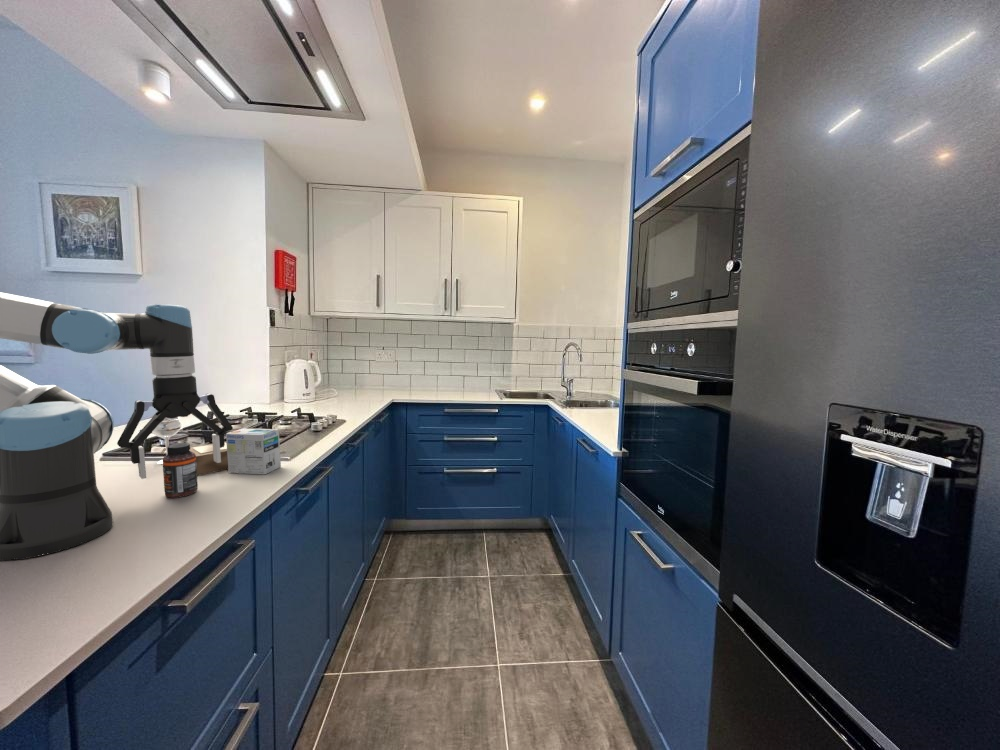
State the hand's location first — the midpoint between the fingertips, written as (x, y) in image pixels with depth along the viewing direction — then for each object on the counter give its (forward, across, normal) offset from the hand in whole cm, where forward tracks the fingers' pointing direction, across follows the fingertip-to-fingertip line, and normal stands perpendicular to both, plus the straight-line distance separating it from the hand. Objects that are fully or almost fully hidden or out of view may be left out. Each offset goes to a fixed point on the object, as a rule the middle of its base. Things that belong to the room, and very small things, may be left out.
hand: (182, 469), depth 92 cm
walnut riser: (+6, +11, +17) cm, 21 cm away
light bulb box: (+6, +17, +5) cm, 18 cm away
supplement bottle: (+6, 0, 0) cm, 6 cm away
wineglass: (+6, +4, +32) cm, 33 cm away
